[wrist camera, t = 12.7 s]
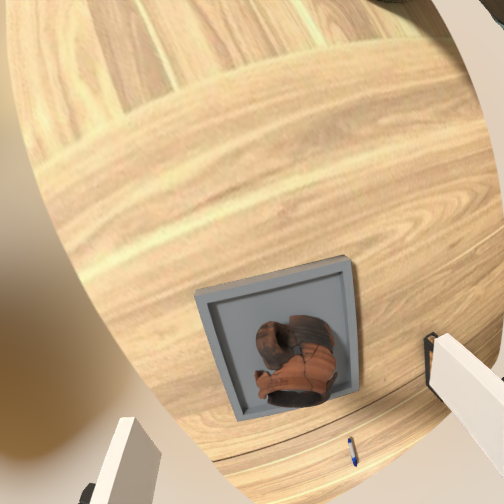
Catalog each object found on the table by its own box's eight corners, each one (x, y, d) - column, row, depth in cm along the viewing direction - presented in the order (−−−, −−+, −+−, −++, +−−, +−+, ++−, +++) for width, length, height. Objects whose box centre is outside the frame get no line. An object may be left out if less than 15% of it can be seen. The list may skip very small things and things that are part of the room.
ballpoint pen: (357, 463, 41) (359, 466, 40) (353, 464, 41) (355, 468, 40) (349, 436, 38) (351, 441, 37) (344, 439, 38) (346, 443, 37)
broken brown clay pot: (348, 337, 33) (353, 401, 27) (282, 357, 37) (279, 415, 31) (296, 281, 27) (295, 361, 21) (221, 312, 32) (207, 381, 26)
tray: (343, 254, 31) (350, 259, 29) (353, 381, 35) (359, 390, 33) (196, 289, 30) (194, 296, 28) (236, 411, 35) (237, 421, 33)
